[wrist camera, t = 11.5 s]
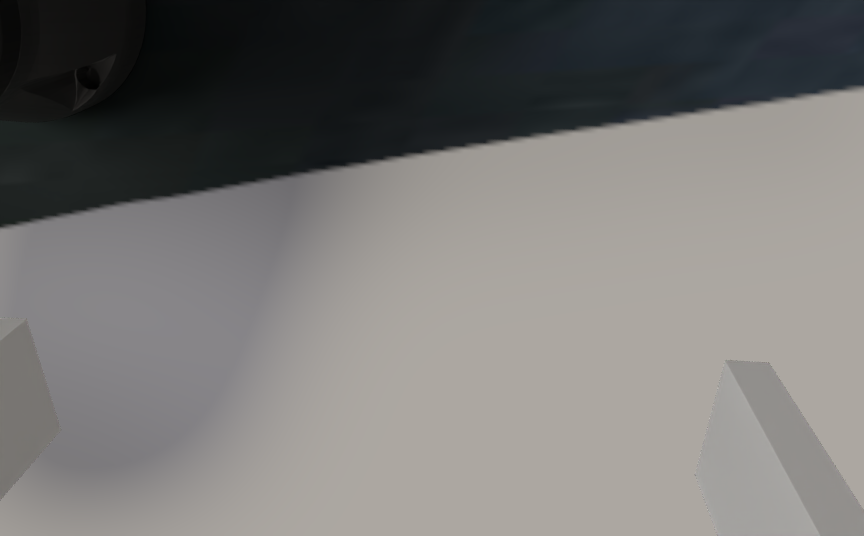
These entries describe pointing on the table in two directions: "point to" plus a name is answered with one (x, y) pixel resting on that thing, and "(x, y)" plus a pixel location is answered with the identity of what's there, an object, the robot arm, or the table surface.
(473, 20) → the table surface
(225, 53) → the table surface
